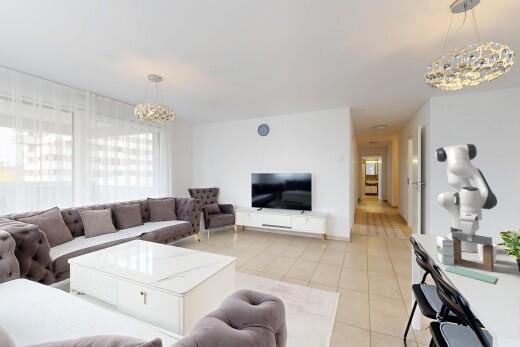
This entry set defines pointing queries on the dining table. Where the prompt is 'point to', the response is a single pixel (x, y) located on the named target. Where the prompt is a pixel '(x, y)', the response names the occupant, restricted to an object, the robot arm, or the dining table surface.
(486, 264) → the rack
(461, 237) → the rail
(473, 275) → the mat
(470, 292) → the dining table surface
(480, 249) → the white cup
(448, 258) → the syrup box
